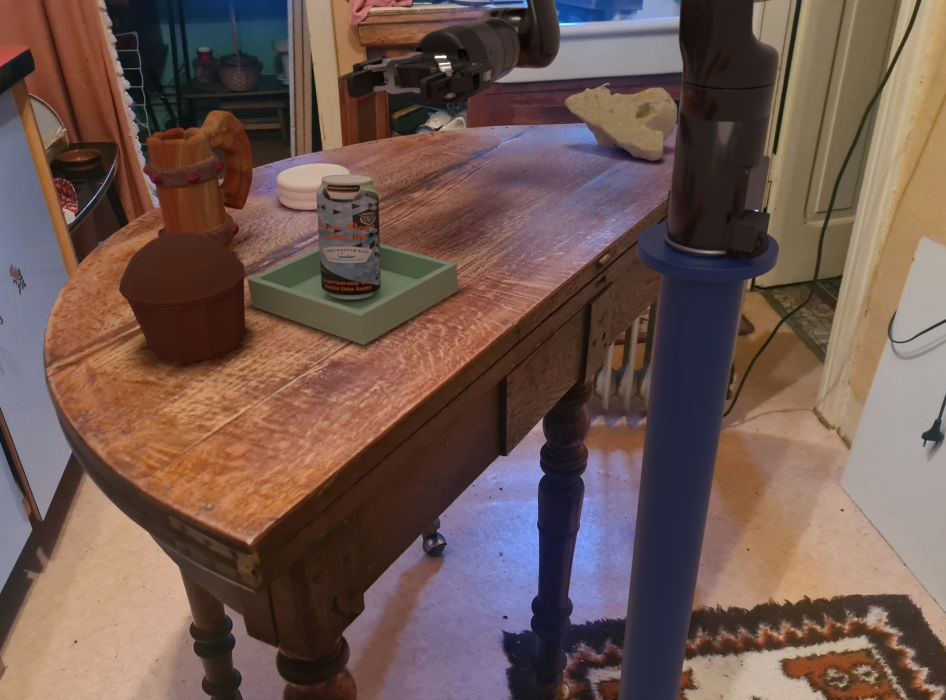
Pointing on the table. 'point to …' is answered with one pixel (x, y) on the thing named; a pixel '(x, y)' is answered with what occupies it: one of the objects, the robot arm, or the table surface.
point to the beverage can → (349, 236)
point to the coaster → (304, 184)
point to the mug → (201, 177)
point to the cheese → (627, 119)
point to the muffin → (186, 297)
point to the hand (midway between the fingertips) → (386, 89)
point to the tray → (359, 320)
